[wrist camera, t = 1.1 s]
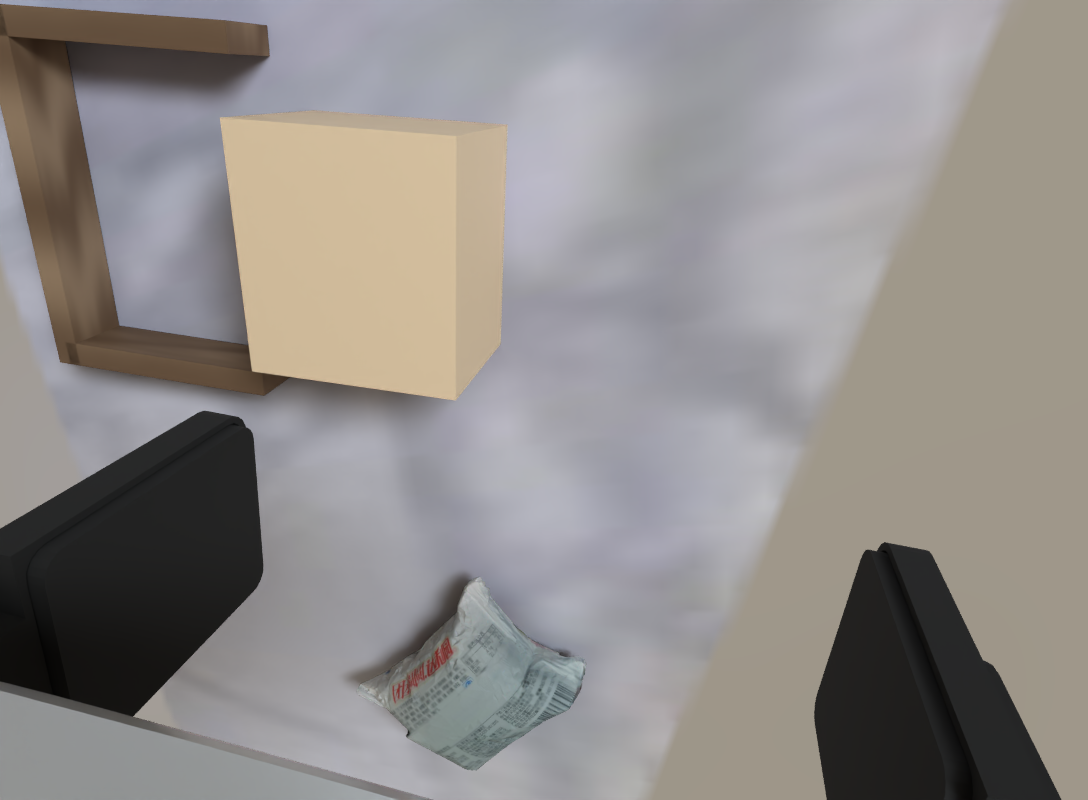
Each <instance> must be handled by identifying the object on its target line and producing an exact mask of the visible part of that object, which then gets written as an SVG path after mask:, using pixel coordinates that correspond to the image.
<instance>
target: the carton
mask: <svg viewBox="0 0 1088 800" xmlns="http://www.w3.org/2000/svg"><path fill="white" fill-rule="evenodd" d="M220 122H221V130H222V138H223V146H224V154H225V161H226V169H227V177H228V185H229V193H230V201H231V209H232V217H233V225H234V233H235V241H236V248H237V256H238V264H239V272H240V280H241V288H242V296H243V304H244V312H245V320H246V328H247V335H248V343H249V351H250V359H251V367H252V371H253V372H260V373H267V374H274V375H281V376H288V377H295V378H302V379H309V380H316V381H323V382H330V383H337V384H344V385H351V386H358V387H365V388H372V389H379V390H386V391H393V392H400V393H407V394H414V395H421V396H428V397H435V398H442V399H449V400H456V399H457V398H458V397H459V396H460V394H461V393H462V392H463V391H464V389H465V388H466V387H467V386H468V384H469V383H470V382H471V380H472V379H473V378H474V377H475V375H476V374H477V373H478V372H479V370H480V369H481V368H482V367H483V365H484V364H485V363H486V362H487V360H488V359H489V358H490V357H491V355H492V354H493V353H494V352H495V350H496V349H497V348H498V347H499V345H500V344H501V311H502V279H503V247H504V215H505V183H506V151H507V125H503V124H490V123H476V122H463V121H449V120H436V119H422V118H409V117H395V116H382V115H369V114H355V113H342V112H328V111H315V110H312V111H299V112H286V113H274V114H261V115H248V116H235V117H222V118H220Z"/></svg>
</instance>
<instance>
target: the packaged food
mask: <svg viewBox="0 0 1088 800" xmlns="http://www.w3.org/2000/svg"><path fill="white" fill-rule="evenodd" d="M585 668H586V663H585V662H584V659H583V658H581V657H579V656H574V657H564V656H561V655H559V653H558V652H555V651H553V650H551V649H549V648H546V647H544V646H542V645H540V644H538V643H536V642H534V641H532V640H531V639H530V638H528V637H527V636H526V635H525V634H524V633H523V632H522V631H521V630H519V629H518V628H517V627H516V626H515V625H514V624H513V623H512V621H511V620H510V619H509V618H508V617H507V616H506V614H505V613H504V612H503V611H502V610H501V608H500V607H499V606H498V605H497V603H496V602H495V601H494V599H492V598H491V596H490V591H489V588H487V587H485V582H483V581H482V579H481V577H477V578H474V579H473V580H471V581H470V582H468V584H467V585H466V586H465V587H464V590H463V592H462V595H461V598H460V600H459V603H458V605H457V612H456V613H455V614H454V615H453V616H452V617H451V618H450V619H449V620H448V621H447V622H446V623H445V624H444V625H442V626H441V627H440V628H439V629H438V630H437V631H436V632H435V633H434V634H433V635H432V636H431V637H430V638H429V639H428V640H427V641H426V642H425V644H424V646H423V647H422V648H421V649H420V650H418V651H416V652H415V653H413V654H411V655H409V656H408V657H406V658H405V659H403V660H402V661H400V662H399V663H397V664H396V665H395V666H393V667H392V668H391V669H390V670H388V671H386V672H384V673H382V674H381V675H378V676H376V677H375V678H373V679H371V680H369V681H366V682H364V683H362V684H360V686H359V688H358V689H357V693H358V694H359V696H361V697H363V698H365V699H367V700H370V701H373V702H374V703H376V704H377V705H379V706H381V707H384V708H387V710H388V711H389V712H390V713H391V714H392V715H393V716H394V717H395V718H396V719H398V720H399V721H400V722H401V723H402V724H403V725H404V726H405V727H406V728H407V729H408V734H407V735H406V737H407V738H409V739H410V740H412V741H414V742H416V743H418V744H419V745H421V746H423V747H425V748H427V749H429V750H431V751H433V752H434V753H436V754H438V755H440V756H442V757H444V758H446V759H448V760H450V761H452V762H454V763H455V764H457V765H459V766H461V767H462V768H464V769H467V770H477V769H479V768H480V767H481V766H482V765H484V764H485V763H486V762H487V761H489V760H490V759H491V758H492V757H494V756H495V755H496V754H497V753H499V752H500V751H501V750H502V749H504V748H505V747H507V746H508V745H509V744H511V743H512V742H513V741H515V740H517V739H519V738H520V737H522V736H524V735H525V734H526V733H528V732H529V731H531V730H532V729H533V728H535V727H536V726H538V725H539V724H541V723H542V722H543V721H546V720H548V719H550V718H552V717H554V716H556V715H558V714H561V713H563V712H565V711H566V710H568V709H570V707H571V705H572V704H573V702H574V701H575V699H576V698H577V696H578V694H579V692H580V690H581V687H582V679H583V676H584V675H585Z"/></svg>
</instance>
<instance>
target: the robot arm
mask: <svg viewBox="0 0 1088 800" xmlns="http://www.w3.org/2000/svg"><path fill="white" fill-rule="evenodd" d="M262 573H263V555H262V542H261V529H260V516H259V503H258V490H257V477H256V464H255V451H254V438H253V434H252V432H251V430H250V429H248V428H246V426H245V424H244V422H243V420H242V419H240V418H239V417H235V416H230V415H225V414H220V413H215V412H209V411H202V412H199V413H197V414H195V415H194V416H192V417H190V418H189V419H187V420H185V421H183V422H182V423H180V424H178V425H177V426H175V427H173V428H172V429H170V430H168V431H166V432H165V433H163V434H161V435H160V436H158V437H156V438H154V439H153V440H151V441H149V442H148V443H146V444H144V445H142V446H141V447H139V448H137V449H136V450H134V451H132V452H131V453H129V454H127V455H125V456H124V457H122V458H120V459H119V460H117V461H115V462H113V463H112V464H110V465H108V466H107V467H105V468H103V469H101V470H100V471H98V472H96V473H95V474H93V475H91V476H90V477H88V478H86V479H84V480H83V481H81V482H79V483H78V484H76V485H74V486H73V487H71V488H69V489H67V490H66V491H64V492H62V493H61V494H59V495H57V496H55V497H54V498H52V499H50V500H49V501H47V502H45V503H43V504H42V505H40V506H38V507H37V508H35V509H33V510H31V511H30V512H28V513H26V514H25V515H23V516H21V517H19V518H18V519H16V520H14V521H13V522H11V523H9V524H8V525H6V526H4V527H3V528H1V529H0V800H432V799H428V798H425V797H421V796H418V795H414V794H411V793H407V792H403V791H400V790H396V789H393V788H389V787H386V786H382V785H378V784H375V783H371V782H368V781H364V780H361V779H357V778H353V777H350V776H346V775H343V774H339V773H336V772H332V771H328V770H325V769H321V768H318V767H314V766H310V765H307V764H303V763H300V762H296V761H292V760H289V759H285V758H282V757H278V756H274V755H271V754H267V753H264V752H260V751H256V750H253V749H249V748H245V747H242V746H238V745H235V744H231V743H227V742H224V741H220V740H216V739H213V738H209V737H205V736H202V735H198V734H194V733H191V732H187V731H183V730H180V729H176V728H172V727H169V726H165V725H161V724H157V723H154V722H150V721H147V720H142V719H139V718H135V717H133V716H134V715H135V714H136V713H137V712H138V711H139V710H140V709H141V708H142V706H144V705H145V703H147V702H148V700H149V699H150V698H151V697H152V696H153V695H154V694H155V693H156V692H157V691H158V690H159V689H160V688H161V687H162V686H163V685H164V684H165V683H166V682H167V681H168V680H169V679H170V678H171V677H172V676H173V674H174V673H175V672H176V671H177V670H178V669H179V668H180V667H181V666H182V665H183V664H184V663H185V662H186V661H187V660H188V659H189V658H190V657H191V656H192V655H193V654H194V653H195V652H196V651H197V650H198V648H199V647H200V646H201V645H202V644H203V643H204V642H205V641H206V640H207V639H208V638H209V637H210V636H211V635H212V634H213V633H214V632H215V631H216V630H217V629H218V628H219V627H220V626H221V625H222V624H223V623H224V621H225V620H226V619H227V618H228V617H229V616H230V615H231V614H232V613H233V612H234V611H235V610H236V609H237V608H238V607H239V606H240V605H241V604H242V603H243V602H244V601H245V600H246V599H247V598H248V597H249V595H250V594H251V593H252V592H253V591H254V590H255V589H256V588H257V586H258V584H259V582H260V580H261V577H262ZM814 714H815V715H814V719H815V728H816V734H817V740H818V746H819V752H820V759H821V765H822V772H823V778H824V784H825V790H826V797H827V800H1061V798H1060V796H1059V794H1058V792H1057V790H1056V788H1055V786H1054V784H1053V782H1052V780H1051V778H1050V776H1049V774H1048V772H1047V770H1046V768H1045V766H1044V764H1043V762H1042V760H1041V758H1040V756H1039V754H1038V752H1037V750H1036V748H1035V746H1034V744H1033V742H1032V740H1031V738H1030V736H1029V734H1028V732H1027V730H1026V728H1025V726H1024V724H1023V721H1022V719H1021V718H1020V715H1019V713H1018V712H1017V710H1016V707H1015V705H1014V703H1013V701H1012V699H1011V697H1010V696H1009V694H1008V691H1007V690H1006V687H1005V685H1004V684H1003V681H1002V680H1001V677H1000V675H999V674H998V672H997V671H996V669H995V668H994V667H993V665H991V664H989V663H988V662H986V661H983V660H982V658H981V656H980V654H979V651H978V649H977V647H976V645H975V643H974V641H973V639H972V637H971V635H970V633H969V631H968V629H967V626H966V624H965V623H964V620H963V618H962V616H961V614H960V612H959V610H958V608H957V606H956V604H955V601H954V599H953V598H952V595H951V593H950V591H949V589H948V587H947V585H946V583H945V581H944V579H943V577H942V575H941V572H940V570H939V568H938V566H937V564H936V562H935V560H934V558H933V556H932V554H931V553H930V552H929V551H926V550H922V549H917V548H911V547H906V546H901V545H896V544H891V543H886V542H884V543H883V544H881V545H880V547H879V548H878V550H877V551H872V550H866V551H865V552H864V554H863V555H862V558H861V560H860V563H859V567H858V570H857V573H856V576H855V579H854V582H853V585H852V589H851V591H850V594H849V598H848V601H847V604H846V607H845V610H844V613H843V616H842V619H841V622H840V625H839V628H838V631H837V634H836V637H835V641H834V644H833V647H832V650H831V653H830V656H829V659H828V662H827V665H826V668H825V671H824V674H823V678H822V681H821V684H820V687H819V690H818V693H817V697H816V702H815V711H814Z"/></svg>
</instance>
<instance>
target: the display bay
mask: <svg viewBox="0 0 1088 800" xmlns="http://www.w3.org/2000/svg"><path fill="white" fill-rule="evenodd" d="M65 41H74V42H87V43H99V44H111V45H124V46H136V47H149V48H161V49H173V50H186V51H198V52H210V53H223V54H238V55H257V56H270V55H269V43H268V31H267V25H258V24H250V23H242V22H234V21H226V20H213V19H199V18H185V17H171V16H158V15H144V14H130V13H116V12H102V11H89V10H75V9H61V8H47V7H34V6H20V5H6V4H0V105H1V109H2V114H3V118H4V122H5V126H6V131H7V135H8V139H9V144H10V148H11V152H12V157H13V161H14V165H15V170H16V174H17V178H18V182H19V187H20V191H21V195H22V200H23V204H24V208H25V213H26V217H27V221H28V226H29V230H30V234H31V238H32V243H33V247H34V251H35V256H36V260H37V264H38V269H39V273H40V277H41V282H42V286H43V290H44V294H45V299H46V303H47V307H48V312H49V316H50V320H51V325H52V329H53V333H54V338H55V342H56V346H57V350H58V355H59V359H60V362H62V363H68V364H74V365H80V366H86V367H92V368H99V369H105V370H111V371H117V372H123V373H129V374H135V375H141V376H147V377H153V378H160V379H166V380H172V381H178V382H184V383H190V384H196V385H202V386H208V387H214V388H221V389H227V390H233V391H239V392H245V393H251V394H257V395H263V396H265V395H266V394H267V393H269V392H270V391H272V390H273V389H274V388H276V387H277V386H279V385H280V384H281V383H283V382H284V381H286V380H287V379H289V378H290V377H288V376H281V375H274V374H267V373H260V372H253V371H252V367H251V359H250V351H249V345H243V344H236V343H230V342H223V341H217V340H210V339H204V338H197V337H190V336H184V335H177V334H171V333H164V332H158V331H151V330H144V329H138V328H131V327H125V326H119V322H118V317H117V312H116V306H115V301H114V296H113V291H112V285H111V280H110V275H109V270H108V264H107V259H106V254H105V249H104V243H103V238H102V233H101V228H100V222H99V217H98V212H97V207H96V201H95V196H94V191H93V186H92V180H91V175H90V170H89V165H88V159H87V154H86V149H85V144H84V138H83V133H82V128H81V122H80V117H79V112H78V107H77V101H76V96H75V91H74V86H73V80H72V75H71V70H70V65H69V59H68V54H67V49H66V44H65Z"/></svg>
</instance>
